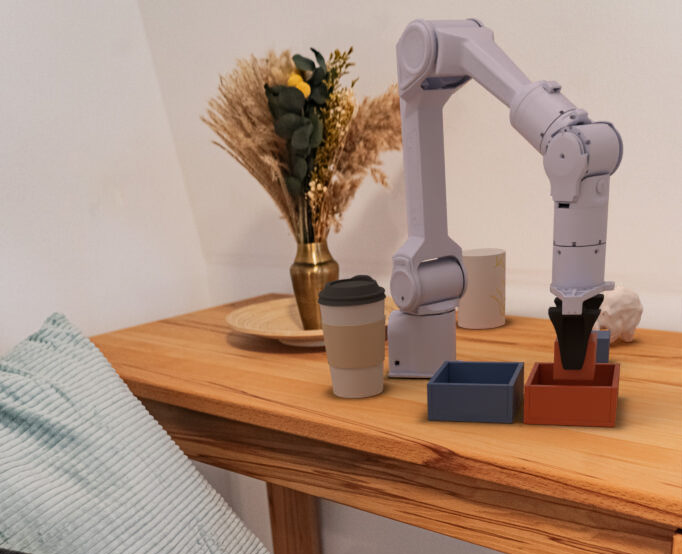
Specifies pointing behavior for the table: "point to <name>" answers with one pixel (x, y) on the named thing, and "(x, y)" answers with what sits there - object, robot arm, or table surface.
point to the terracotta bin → (572, 397)
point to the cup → (483, 289)
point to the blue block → (602, 346)
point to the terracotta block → (588, 366)
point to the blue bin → (476, 391)
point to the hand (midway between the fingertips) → (574, 363)
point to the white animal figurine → (619, 313)
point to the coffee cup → (354, 335)
